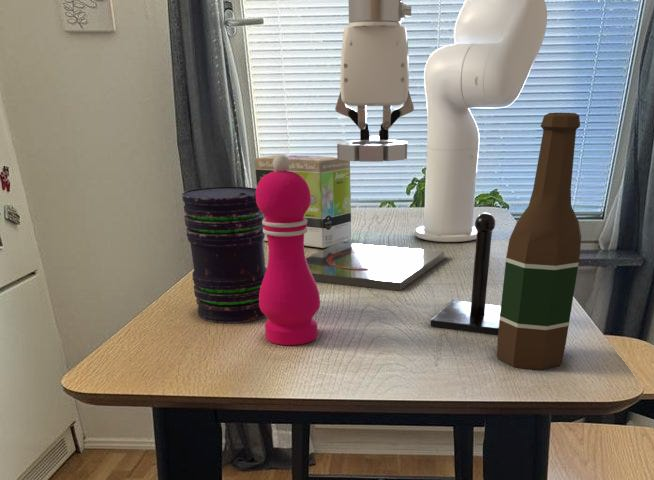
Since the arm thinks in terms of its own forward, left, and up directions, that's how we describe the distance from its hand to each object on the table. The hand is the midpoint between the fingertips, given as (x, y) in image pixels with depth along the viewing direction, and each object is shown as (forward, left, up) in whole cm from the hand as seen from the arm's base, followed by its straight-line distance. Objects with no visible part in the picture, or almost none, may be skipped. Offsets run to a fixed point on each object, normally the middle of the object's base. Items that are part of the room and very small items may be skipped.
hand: (374, 156), depth 105 cm
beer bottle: (+35, +33, -16) cm, 51 cm away
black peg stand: (+24, +24, -16) cm, 38 cm away
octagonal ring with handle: (+5, +2, +1) cm, 5 cm away
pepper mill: (+39, +5, -16) cm, 42 cm away
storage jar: (+33, -7, -16) cm, 37 cm away
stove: (+4, 0, -16) cm, 17 cm away
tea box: (-11, -19, -16) cm, 27 cm away
